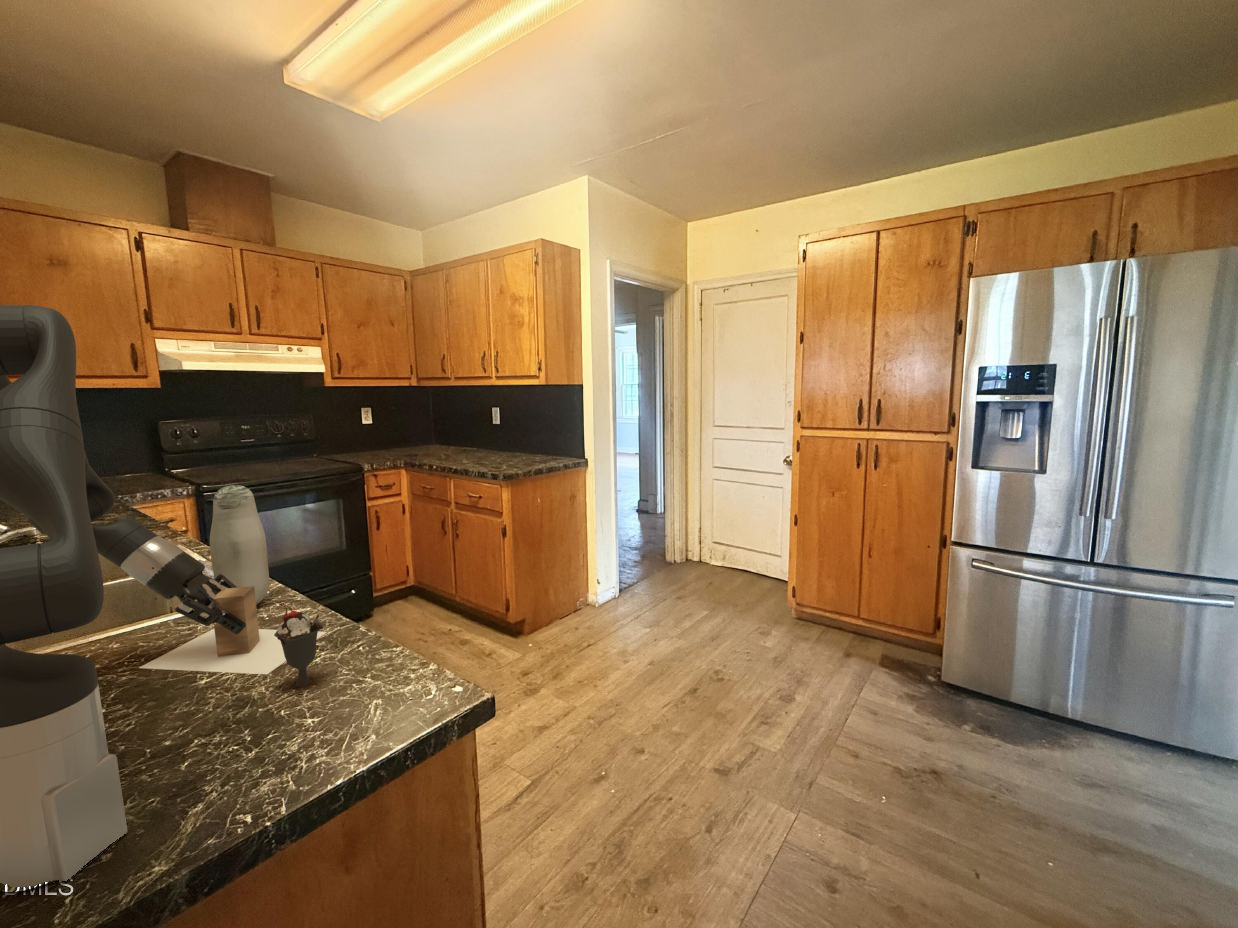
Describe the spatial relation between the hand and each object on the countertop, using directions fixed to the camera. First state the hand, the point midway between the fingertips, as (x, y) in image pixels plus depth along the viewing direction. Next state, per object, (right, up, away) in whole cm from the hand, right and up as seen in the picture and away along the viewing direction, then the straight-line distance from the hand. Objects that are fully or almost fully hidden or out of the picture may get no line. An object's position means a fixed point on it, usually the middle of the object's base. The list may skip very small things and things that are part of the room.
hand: (248, 623), depth 98 cm
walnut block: (-2, -5, 0) cm, 5 cm away
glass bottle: (-16, -3, +21) cm, 27 cm away
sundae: (+17, -7, -11) cm, 22 cm away
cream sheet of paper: (-2, -6, 0) cm, 6 cm away
